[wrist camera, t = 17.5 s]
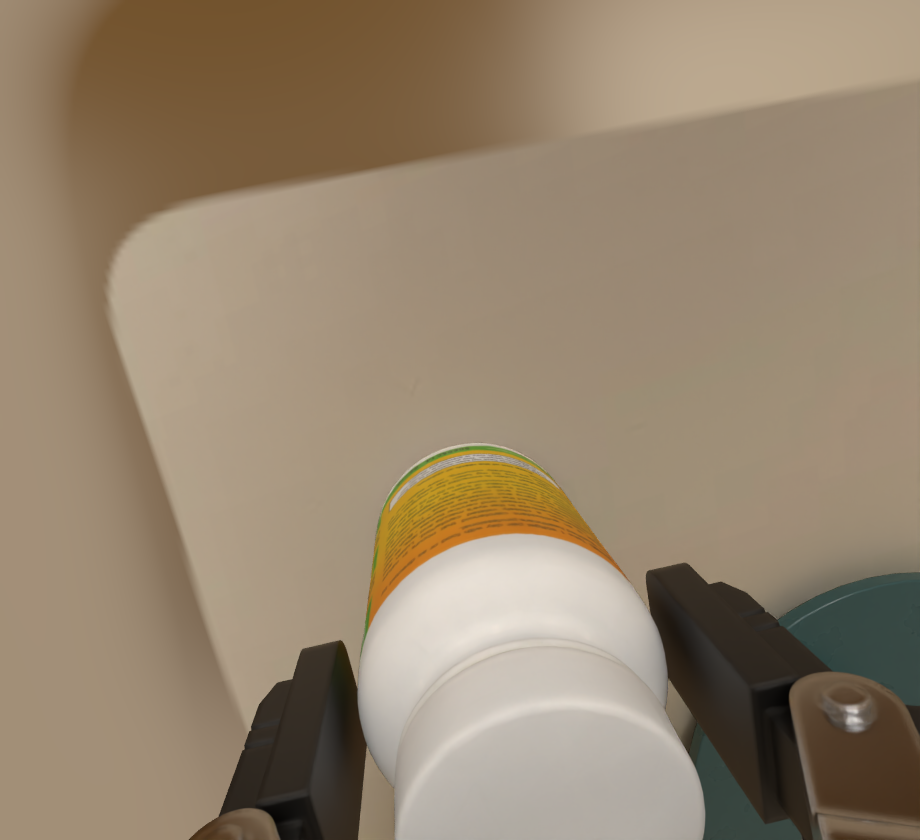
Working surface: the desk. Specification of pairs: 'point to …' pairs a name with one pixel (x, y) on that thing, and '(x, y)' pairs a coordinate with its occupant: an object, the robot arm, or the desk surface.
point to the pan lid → (843, 650)
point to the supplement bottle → (514, 666)
